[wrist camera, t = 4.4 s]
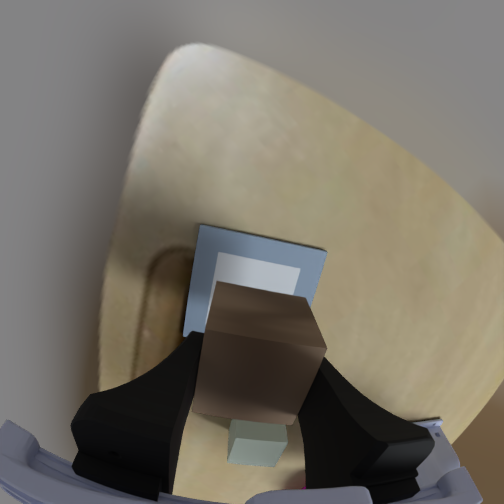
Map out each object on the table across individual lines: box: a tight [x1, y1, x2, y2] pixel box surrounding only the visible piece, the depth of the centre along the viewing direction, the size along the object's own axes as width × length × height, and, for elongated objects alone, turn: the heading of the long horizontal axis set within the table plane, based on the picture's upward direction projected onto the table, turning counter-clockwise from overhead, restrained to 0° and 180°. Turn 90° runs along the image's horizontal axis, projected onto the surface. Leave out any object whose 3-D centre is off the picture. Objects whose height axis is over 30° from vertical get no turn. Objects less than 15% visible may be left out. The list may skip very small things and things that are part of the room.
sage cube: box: [227, 419, 288, 467], centre depth 21 cm, size 4×4×4 cm
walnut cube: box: [192, 281, 327, 425], centre depth 13 cm, size 4×4×4 cm
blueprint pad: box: [183, 224, 327, 337], centre depth 19 cm, size 8×8×1 cm
